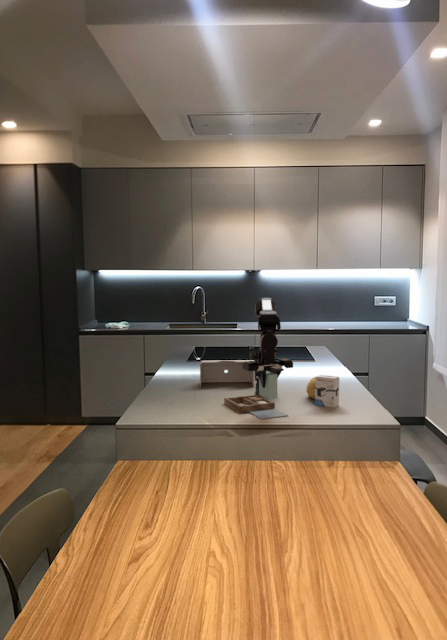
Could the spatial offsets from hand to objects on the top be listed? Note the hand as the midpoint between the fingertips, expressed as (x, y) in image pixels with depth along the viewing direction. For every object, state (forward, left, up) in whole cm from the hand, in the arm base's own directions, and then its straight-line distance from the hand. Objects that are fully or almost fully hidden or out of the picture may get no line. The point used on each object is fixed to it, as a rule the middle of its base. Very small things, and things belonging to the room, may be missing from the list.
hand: (268, 387), depth 191 cm
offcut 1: (-2, -16, -9) cm, 18 cm away
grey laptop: (-6, -53, -11) cm, 54 cm away
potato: (-30, -13, -10) cm, 34 cm away
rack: (+2, -13, -10) cm, 17 cm away
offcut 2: (-2, -10, -11) cm, 15 cm away
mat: (0, 0, -10) cm, 10 cm away
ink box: (-28, -2, -10) cm, 30 cm away
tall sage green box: (0, 0, -4) cm, 4 cm away
